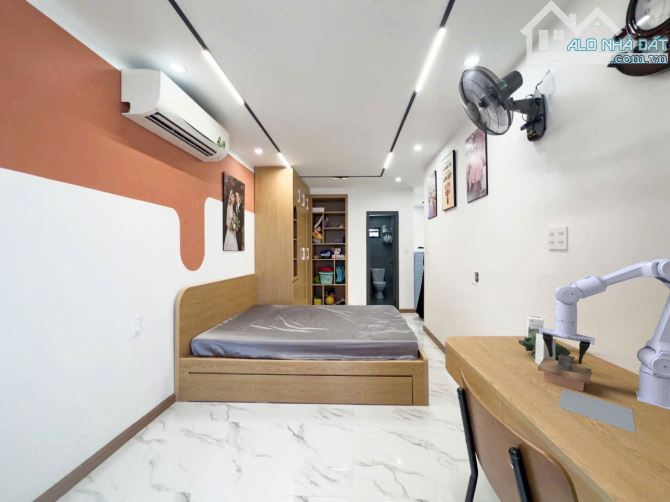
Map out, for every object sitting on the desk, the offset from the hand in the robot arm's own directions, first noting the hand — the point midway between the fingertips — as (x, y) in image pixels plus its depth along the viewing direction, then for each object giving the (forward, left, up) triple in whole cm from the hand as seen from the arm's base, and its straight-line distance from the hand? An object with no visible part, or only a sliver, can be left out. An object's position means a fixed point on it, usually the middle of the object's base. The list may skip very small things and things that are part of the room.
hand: (565, 359), depth 93 cm
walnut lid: (0, 0, -4) cm, 4 cm away
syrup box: (+14, -35, -8) cm, 39 cm away
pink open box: (0, 0, -8) cm, 8 cm away
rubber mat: (-8, +15, -8) cm, 19 cm away
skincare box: (+7, -12, -8) cm, 16 cm away
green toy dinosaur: (+8, -22, -8) cm, 25 cm away
